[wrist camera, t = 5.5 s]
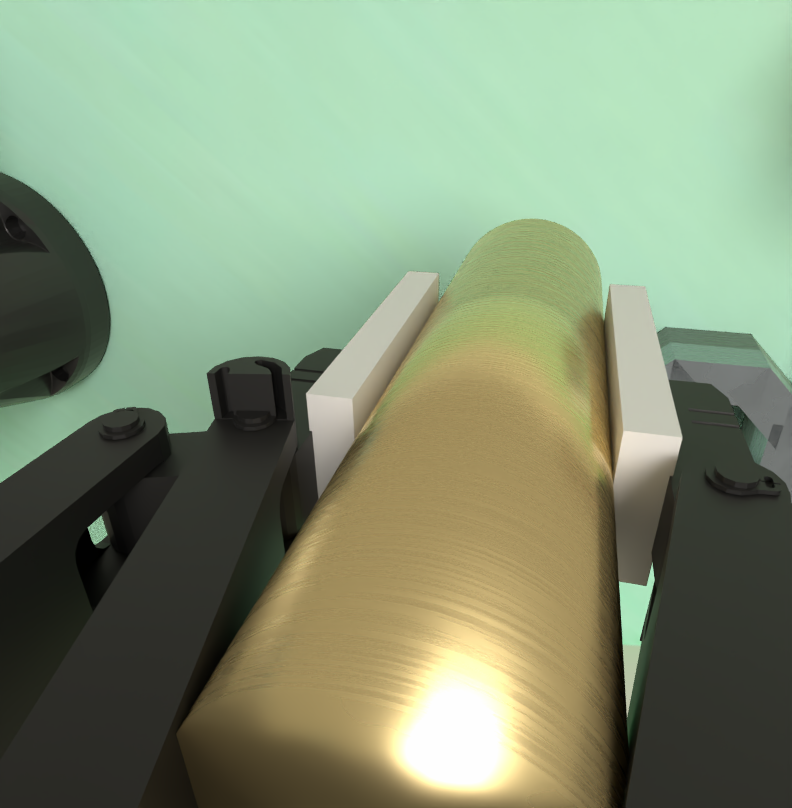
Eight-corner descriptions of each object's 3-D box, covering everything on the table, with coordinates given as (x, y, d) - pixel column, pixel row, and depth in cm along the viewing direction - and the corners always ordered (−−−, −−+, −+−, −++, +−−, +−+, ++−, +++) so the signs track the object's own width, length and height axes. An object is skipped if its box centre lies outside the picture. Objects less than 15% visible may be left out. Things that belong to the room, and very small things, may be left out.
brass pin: (456, 347, 19) (204, 904, 7) (461, 215, 17) (119, 643, 5) (591, 360, 18) (597, 1037, 6) (611, 222, 16) (691, 779, 4)
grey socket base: (460, 456, 39) (447, 494, 35) (466, 310, 34) (452, 338, 31) (917, 519, 33) (954, 571, 30) (998, 353, 28) (1053, 394, 25)
